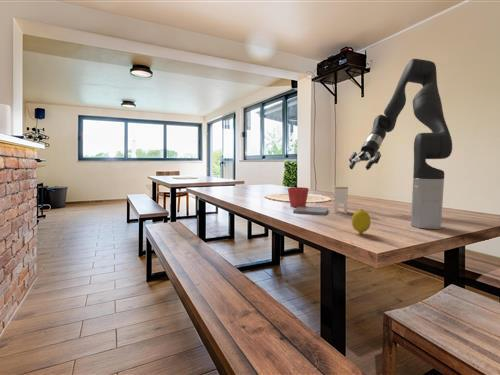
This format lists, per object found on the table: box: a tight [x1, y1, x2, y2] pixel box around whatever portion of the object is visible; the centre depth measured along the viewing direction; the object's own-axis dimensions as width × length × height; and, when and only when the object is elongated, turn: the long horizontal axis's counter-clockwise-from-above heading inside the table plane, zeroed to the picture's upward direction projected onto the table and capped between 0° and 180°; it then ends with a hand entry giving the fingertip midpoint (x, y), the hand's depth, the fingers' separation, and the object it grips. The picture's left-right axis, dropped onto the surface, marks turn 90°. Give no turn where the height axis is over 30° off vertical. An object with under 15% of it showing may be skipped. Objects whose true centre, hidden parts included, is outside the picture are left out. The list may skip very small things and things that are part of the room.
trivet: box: [292, 206, 329, 216], centre depth 129 cm, size 14×14×1 cm
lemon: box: [351, 208, 372, 235], centre depth 88 cm, size 6×6×8 cm
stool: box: [333, 185, 349, 214], centre depth 128 cm, size 6×6×12 cm
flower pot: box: [287, 186, 310, 208], centre depth 145 cm, size 11×11×10 cm
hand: (358, 168), depth 134 cm, fingers open, 8 cm apart
